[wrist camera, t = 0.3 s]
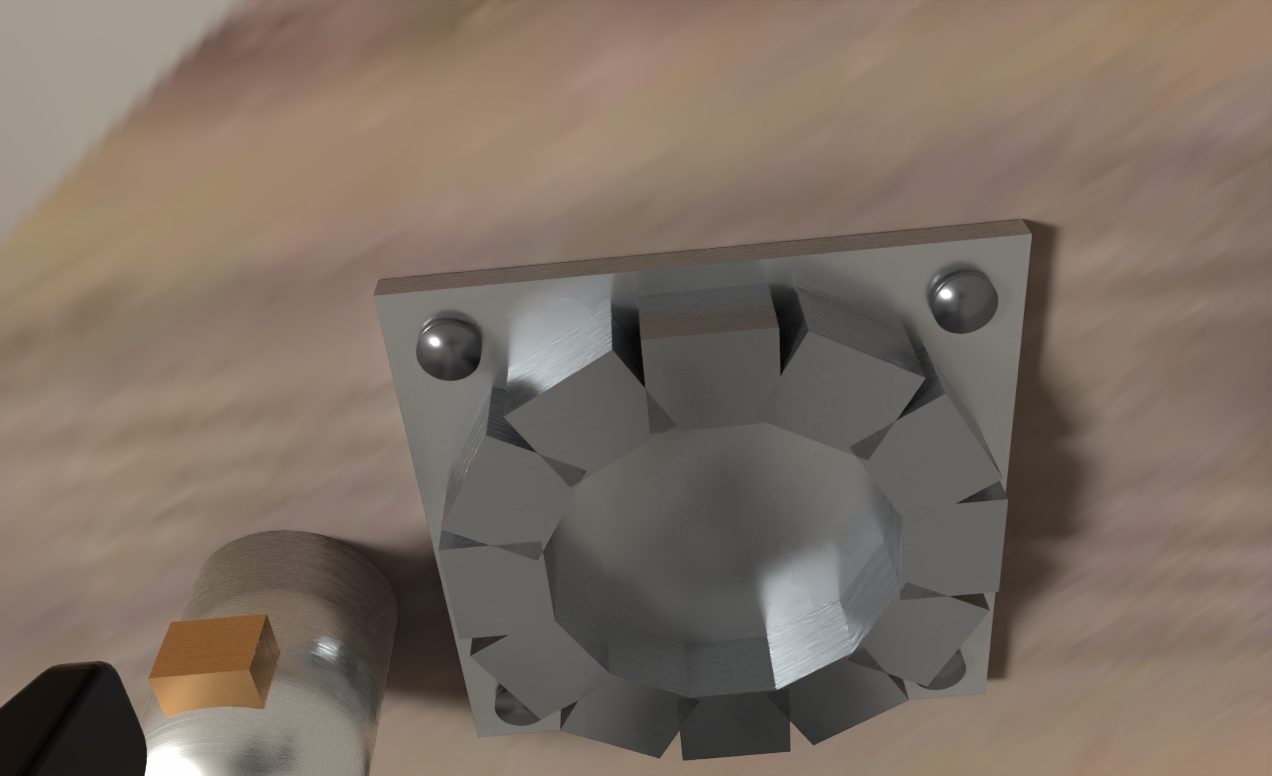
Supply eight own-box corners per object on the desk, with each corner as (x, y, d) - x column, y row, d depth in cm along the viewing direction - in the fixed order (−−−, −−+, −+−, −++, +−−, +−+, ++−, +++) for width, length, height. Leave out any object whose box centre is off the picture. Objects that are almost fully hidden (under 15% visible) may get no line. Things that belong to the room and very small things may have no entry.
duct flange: (978, 674, 29) (1004, 747, 27) (480, 717, 29) (473, 793, 27) (1021, 219, 22) (1061, 275, 21) (377, 280, 23) (359, 340, 21)
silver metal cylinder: (415, 669, 28) (378, 901, 23) (224, 686, 28) (148, 920, 23) (367, 490, 25) (313, 711, 20) (155, 509, 25) (49, 734, 20)
